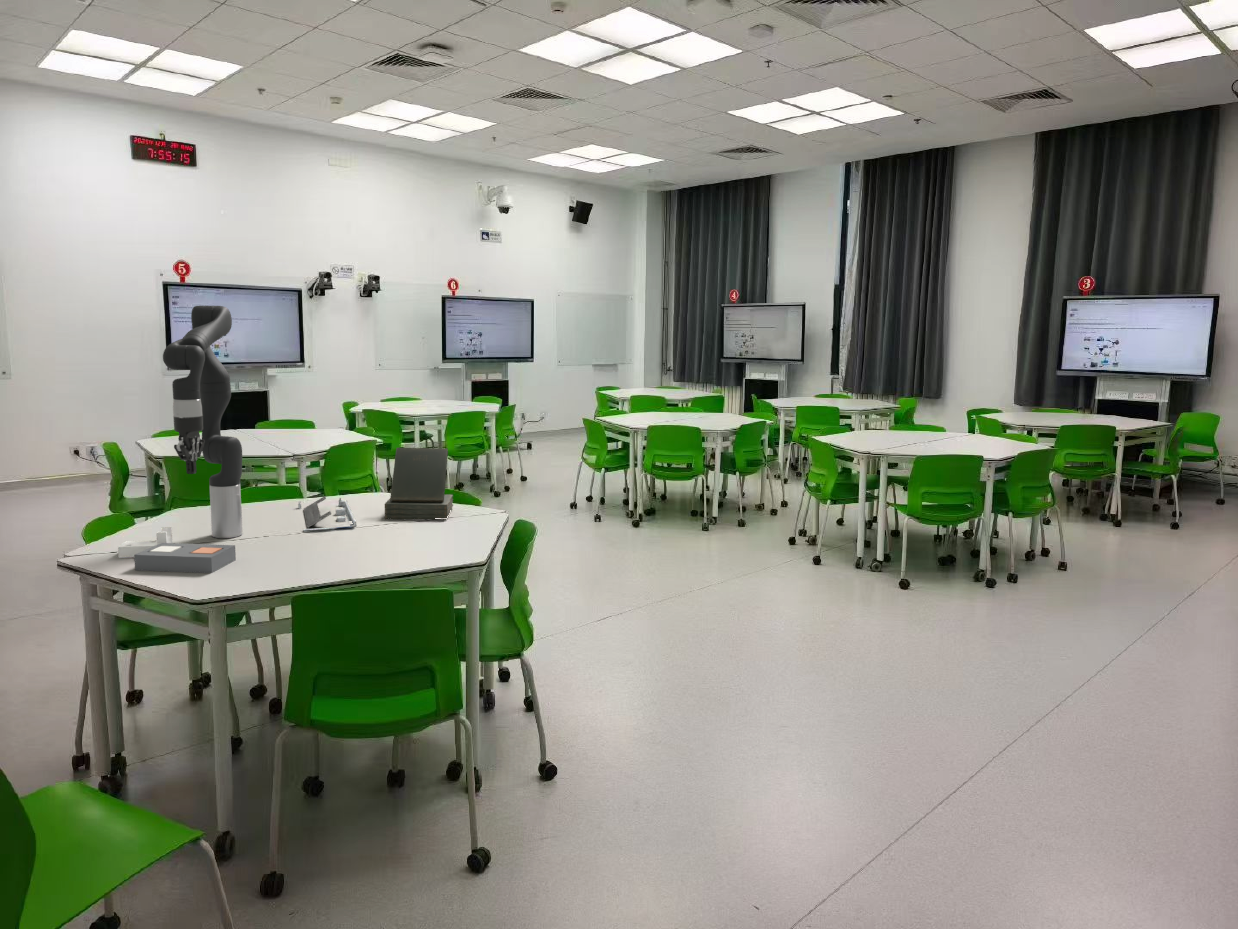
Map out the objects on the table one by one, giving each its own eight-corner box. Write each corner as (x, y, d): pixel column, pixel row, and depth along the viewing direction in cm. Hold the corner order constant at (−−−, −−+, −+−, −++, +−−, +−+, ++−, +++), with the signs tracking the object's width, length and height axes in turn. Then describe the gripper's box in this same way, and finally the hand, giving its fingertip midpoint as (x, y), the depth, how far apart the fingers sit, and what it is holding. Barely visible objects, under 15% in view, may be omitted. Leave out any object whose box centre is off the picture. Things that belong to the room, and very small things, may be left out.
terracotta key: (202, 558, 245) (201, 547, 244) (222, 559, 245) (221, 548, 244) (191, 564, 239) (190, 552, 238) (212, 565, 239) (211, 553, 238)
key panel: (163, 557, 249) (162, 542, 248) (235, 560, 249) (235, 545, 248) (135, 570, 235) (134, 554, 235) (212, 573, 235) (211, 557, 234)
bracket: (172, 550, 258) (171, 527, 257) (167, 556, 251) (165, 532, 250) (125, 552, 254) (124, 528, 253) (118, 558, 248) (117, 533, 246)
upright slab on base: (384, 520, 309) (383, 453, 305) (394, 509, 328) (393, 446, 324) (447, 520, 311) (447, 454, 307) (453, 510, 330) (453, 447, 326)
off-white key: (161, 557, 245) (161, 545, 244) (182, 558, 245) (181, 546, 244) (150, 562, 239) (149, 551, 238) (170, 563, 239) (170, 551, 238)
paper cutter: (346, 506, 331) (346, 492, 331) (358, 531, 291) (357, 515, 290) (298, 508, 325) (297, 494, 324) (302, 534, 284) (302, 518, 283)
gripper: (187, 411, 247) (191, 469, 250) (162, 416, 234) (166, 477, 237) (212, 412, 247) (215, 470, 250) (188, 417, 234) (192, 478, 237)
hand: (191, 473), depth 244 cm, fingers closed
